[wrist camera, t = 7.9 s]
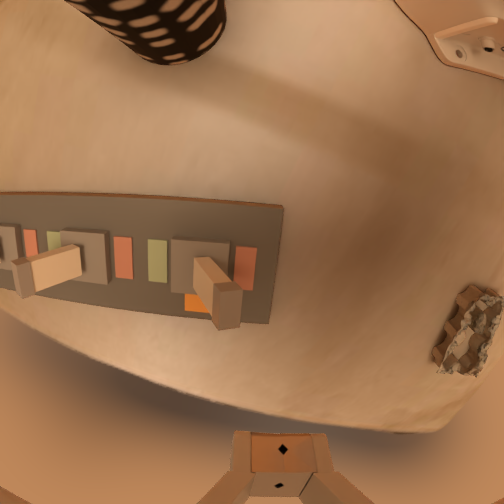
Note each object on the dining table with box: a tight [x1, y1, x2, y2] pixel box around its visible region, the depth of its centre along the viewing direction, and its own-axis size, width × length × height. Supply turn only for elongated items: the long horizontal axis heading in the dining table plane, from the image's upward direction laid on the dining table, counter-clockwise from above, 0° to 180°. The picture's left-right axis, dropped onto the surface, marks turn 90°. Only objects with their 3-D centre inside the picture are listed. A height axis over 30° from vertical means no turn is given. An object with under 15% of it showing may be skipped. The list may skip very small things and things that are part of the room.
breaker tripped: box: [193, 257, 243, 330], centre depth 21 cm, size 1×3×6 cm, turn 175°
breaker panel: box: [0, 192, 284, 324], centre depth 25 cm, size 32×10×2 cm, turn 85°
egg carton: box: [432, 285, 504, 377], centre depth 28 cm, size 11×8×4 cm
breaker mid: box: [11, 244, 82, 299], centre depth 20 cm, size 1×3×6 cm, turn 174°
